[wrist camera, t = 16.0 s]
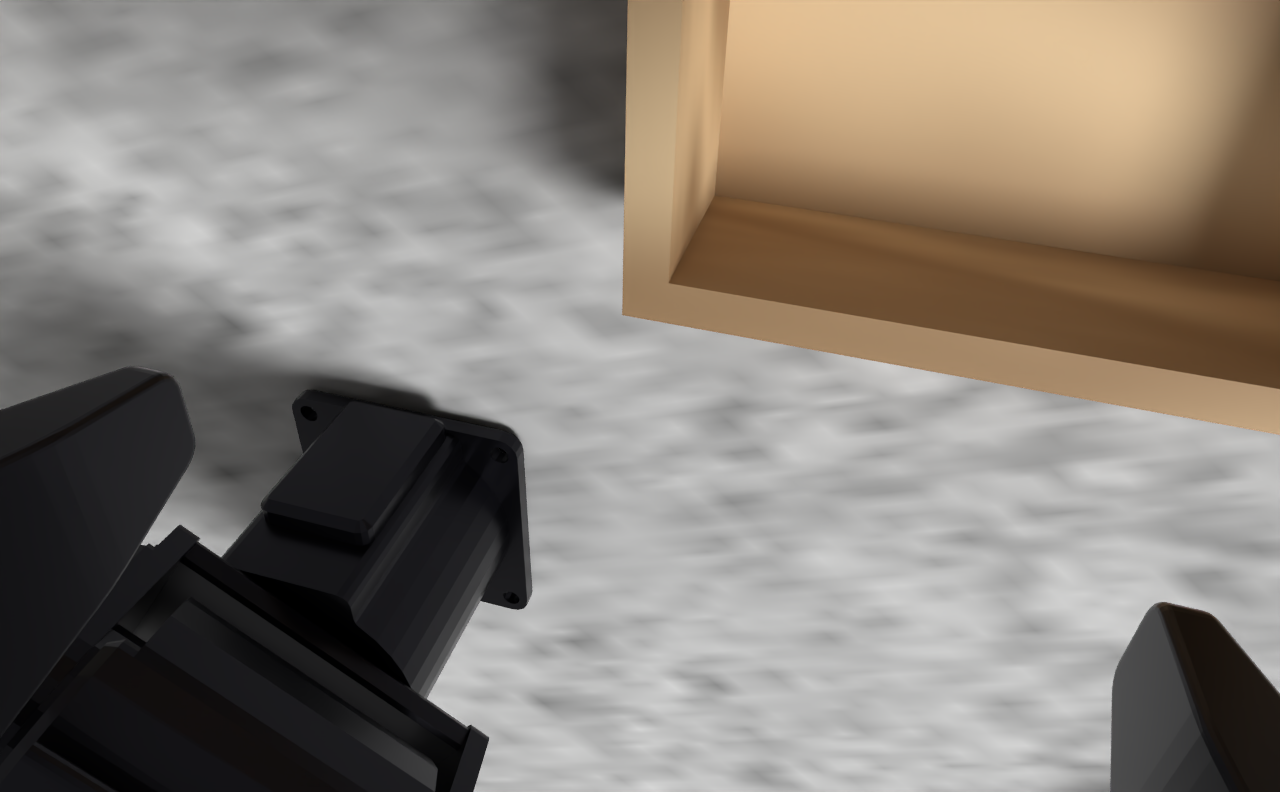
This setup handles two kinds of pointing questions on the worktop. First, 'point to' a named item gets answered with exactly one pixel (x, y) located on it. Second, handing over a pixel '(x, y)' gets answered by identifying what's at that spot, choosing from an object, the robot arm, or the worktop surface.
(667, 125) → the toolbox
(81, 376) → the worktop surface
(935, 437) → the worktop surface
